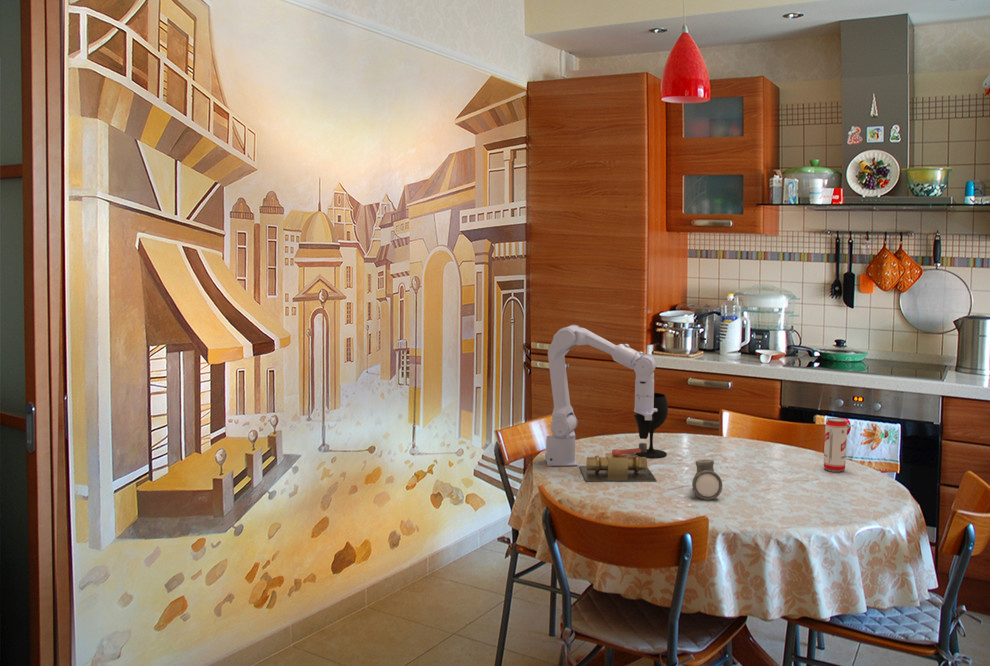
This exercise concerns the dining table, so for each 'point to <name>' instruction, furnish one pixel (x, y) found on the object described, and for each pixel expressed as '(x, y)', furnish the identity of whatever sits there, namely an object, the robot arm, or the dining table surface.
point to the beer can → (835, 444)
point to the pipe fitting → (706, 480)
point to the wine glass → (656, 425)
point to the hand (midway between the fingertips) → (643, 438)
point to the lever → (631, 450)
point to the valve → (617, 469)
